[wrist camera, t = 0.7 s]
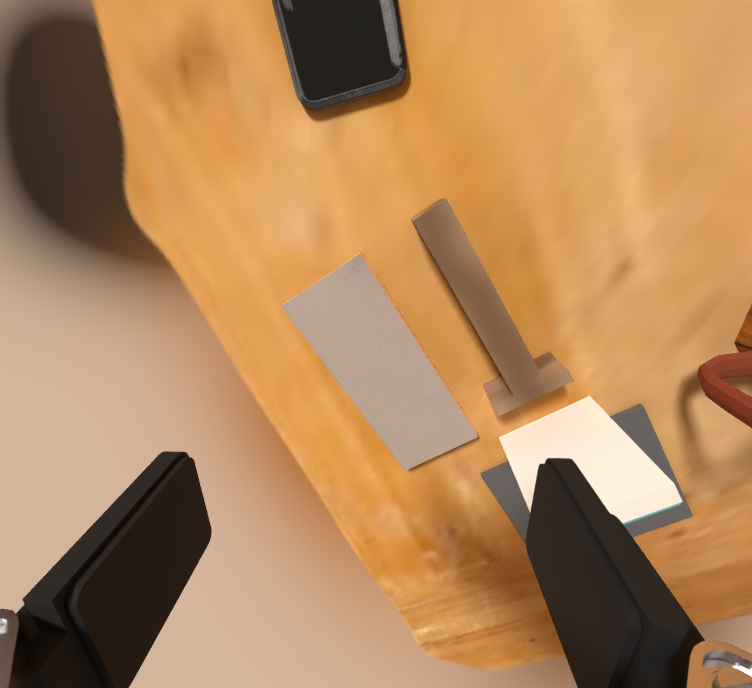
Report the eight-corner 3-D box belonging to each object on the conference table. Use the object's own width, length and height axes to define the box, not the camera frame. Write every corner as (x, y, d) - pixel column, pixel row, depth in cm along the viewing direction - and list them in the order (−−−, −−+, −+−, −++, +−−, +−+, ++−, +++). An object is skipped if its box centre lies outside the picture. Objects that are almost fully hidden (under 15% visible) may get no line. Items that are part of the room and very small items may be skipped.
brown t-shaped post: (462, 184, 27) (472, 181, 24) (553, 359, 32) (573, 380, 28) (390, 232, 29) (389, 236, 25) (487, 392, 34) (498, 416, 30)
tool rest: (361, 251, 29) (359, 253, 28) (475, 429, 35) (478, 437, 34) (285, 302, 31) (281, 305, 30) (404, 462, 37) (405, 470, 36)
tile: (589, 396, 33) (674, 483, 23) (597, 412, 34) (683, 504, 23) (498, 437, 35) (539, 534, 25) (507, 451, 36) (550, 552, 26)
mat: (640, 403, 33) (643, 406, 32) (689, 512, 37) (692, 516, 37) (480, 473, 37) (481, 476, 36) (541, 564, 41) (542, 568, 41)
